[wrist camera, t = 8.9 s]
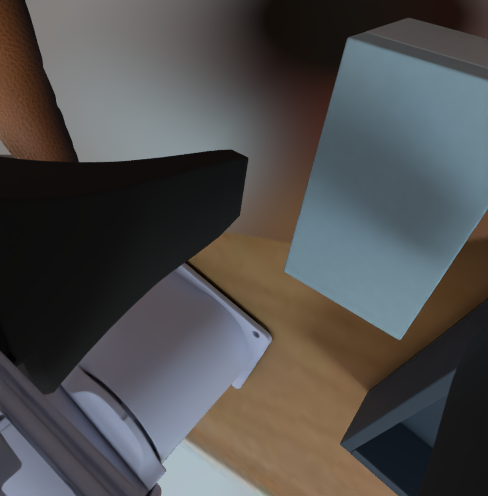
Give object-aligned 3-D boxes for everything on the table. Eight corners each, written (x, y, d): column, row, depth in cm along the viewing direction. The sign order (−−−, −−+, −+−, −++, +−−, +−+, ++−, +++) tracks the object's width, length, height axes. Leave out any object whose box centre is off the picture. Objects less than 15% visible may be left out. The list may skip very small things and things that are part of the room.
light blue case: (335, 220, 18) (282, 271, 15) (407, 16, 12) (346, 36, 9) (437, 271, 16) (399, 341, 13) (573, 61, 10) (559, 101, 8)
